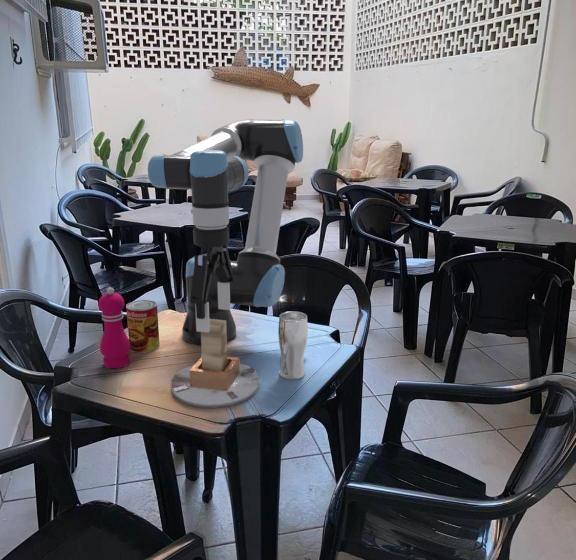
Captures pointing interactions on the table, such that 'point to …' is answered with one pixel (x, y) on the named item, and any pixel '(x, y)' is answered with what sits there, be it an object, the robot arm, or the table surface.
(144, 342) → the canned food
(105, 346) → the pepper mill
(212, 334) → the wedge pin
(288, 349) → the beer glass
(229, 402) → the rosette plate
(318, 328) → the table surface
